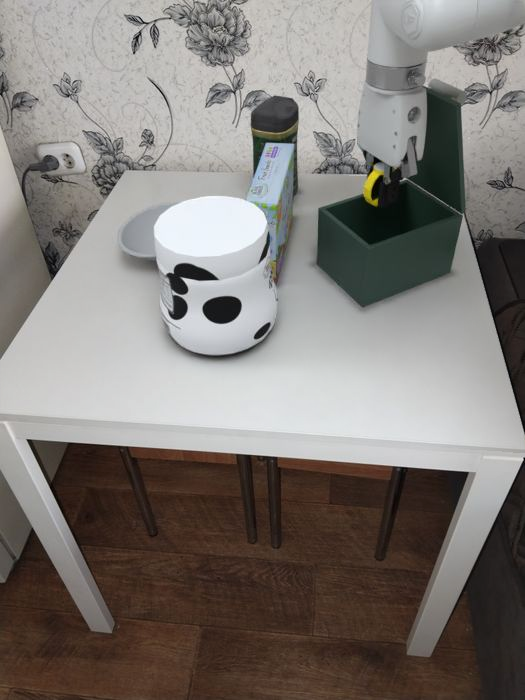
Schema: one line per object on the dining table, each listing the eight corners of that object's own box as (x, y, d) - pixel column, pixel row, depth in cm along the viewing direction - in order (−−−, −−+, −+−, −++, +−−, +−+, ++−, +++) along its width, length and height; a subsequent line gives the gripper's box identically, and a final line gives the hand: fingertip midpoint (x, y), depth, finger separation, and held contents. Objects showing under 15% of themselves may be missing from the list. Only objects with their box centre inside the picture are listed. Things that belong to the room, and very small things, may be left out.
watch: (388, 192, 92) (393, 156, 87) (401, 199, 90) (406, 163, 86) (358, 204, 89) (362, 168, 85) (371, 212, 88) (375, 175, 83)
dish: (177, 288, 97) (173, 264, 94) (104, 270, 102) (98, 246, 98) (223, 233, 109) (221, 209, 105) (156, 219, 113) (152, 196, 110)
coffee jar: (285, 211, 114) (284, 115, 101) (248, 203, 116) (242, 109, 103) (303, 187, 120) (305, 94, 107) (268, 181, 123) (265, 89, 110)
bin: (362, 307, 92) (368, 249, 85) (316, 263, 101) (318, 207, 93) (450, 272, 98) (463, 215, 90) (399, 234, 107) (407, 179, 99)
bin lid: (456, 106, 76) (486, 86, 77) (391, 75, 85) (419, 57, 85) (461, 214, 90) (487, 197, 90) (405, 178, 99) (429, 162, 99)
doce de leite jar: (296, 307, 93) (296, 205, 80) (245, 381, 82) (237, 276, 69) (201, 281, 99) (188, 182, 86) (142, 346, 88) (117, 243, 75)
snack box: (280, 286, 97) (278, 204, 86) (246, 283, 98) (241, 202, 87) (295, 217, 112) (295, 141, 101) (266, 216, 113) (263, 140, 102)
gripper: (460, 85, 73) (435, 217, 85) (381, 51, 83) (369, 172, 96) (411, 98, 70) (393, 231, 83) (336, 61, 81) (330, 184, 93)
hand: (381, 199), depth 89 cm, fingers closed on watch, 2 cm apart
